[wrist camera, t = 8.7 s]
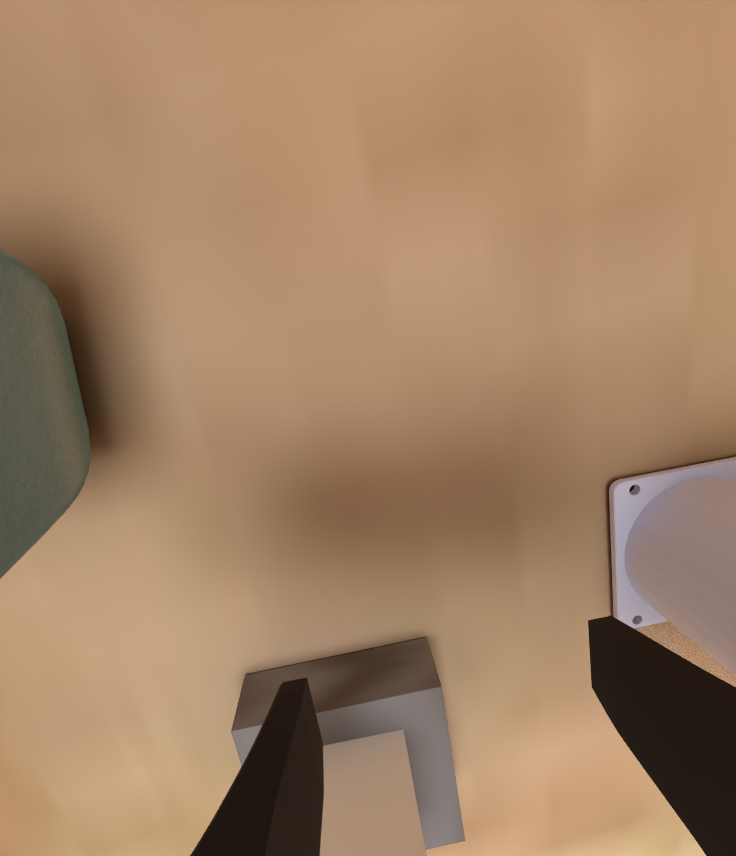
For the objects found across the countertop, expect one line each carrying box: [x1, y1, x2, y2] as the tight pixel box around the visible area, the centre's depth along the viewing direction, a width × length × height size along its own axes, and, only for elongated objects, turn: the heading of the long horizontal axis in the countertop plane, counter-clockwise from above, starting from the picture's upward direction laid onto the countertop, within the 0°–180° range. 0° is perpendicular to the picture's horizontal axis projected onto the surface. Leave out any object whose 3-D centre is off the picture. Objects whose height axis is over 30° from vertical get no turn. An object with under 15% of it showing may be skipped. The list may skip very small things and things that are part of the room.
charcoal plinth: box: [231, 637, 465, 850], centre depth 21 cm, size 9×9×3 cm
